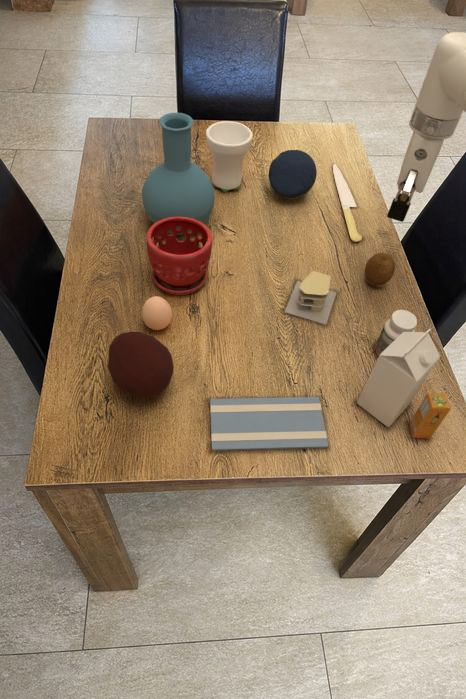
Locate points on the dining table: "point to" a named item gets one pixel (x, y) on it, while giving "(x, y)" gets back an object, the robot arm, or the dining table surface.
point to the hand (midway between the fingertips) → (400, 204)
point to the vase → (177, 177)
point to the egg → (156, 313)
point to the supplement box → (429, 415)
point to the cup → (228, 152)
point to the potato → (140, 364)
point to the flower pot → (179, 254)
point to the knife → (346, 203)
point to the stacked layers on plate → (312, 298)
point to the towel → (267, 423)
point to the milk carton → (398, 376)
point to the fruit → (379, 269)
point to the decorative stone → (292, 174)
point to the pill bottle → (395, 329)
